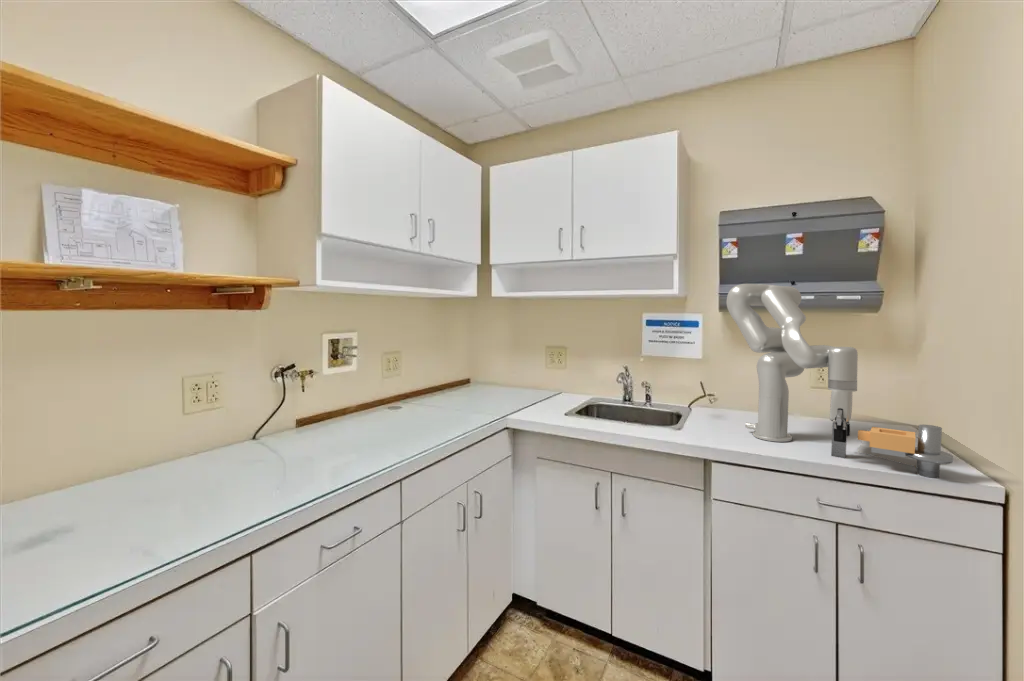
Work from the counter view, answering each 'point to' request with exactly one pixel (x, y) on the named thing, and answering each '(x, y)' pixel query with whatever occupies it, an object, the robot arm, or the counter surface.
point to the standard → (925, 452)
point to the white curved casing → (867, 450)
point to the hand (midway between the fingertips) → (841, 438)
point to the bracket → (889, 439)
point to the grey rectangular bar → (838, 445)
